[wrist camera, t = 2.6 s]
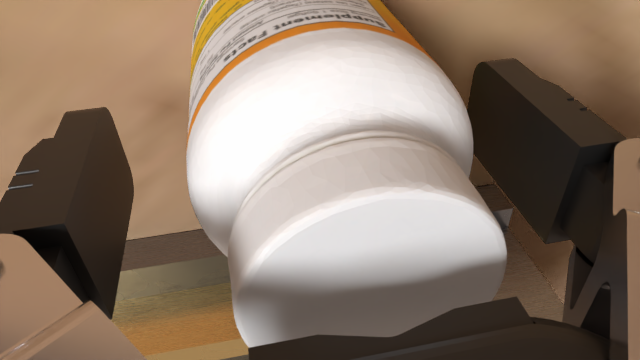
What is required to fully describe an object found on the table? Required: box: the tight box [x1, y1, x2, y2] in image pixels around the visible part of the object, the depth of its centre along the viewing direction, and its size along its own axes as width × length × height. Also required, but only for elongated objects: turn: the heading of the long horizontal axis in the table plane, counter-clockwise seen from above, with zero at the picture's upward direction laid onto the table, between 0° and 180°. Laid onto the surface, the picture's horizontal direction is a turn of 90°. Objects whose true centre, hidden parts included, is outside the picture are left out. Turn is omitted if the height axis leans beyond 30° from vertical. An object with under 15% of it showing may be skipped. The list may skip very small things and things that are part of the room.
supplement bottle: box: [186, 0, 507, 348], centre depth 10 cm, size 5×5×10 cm
